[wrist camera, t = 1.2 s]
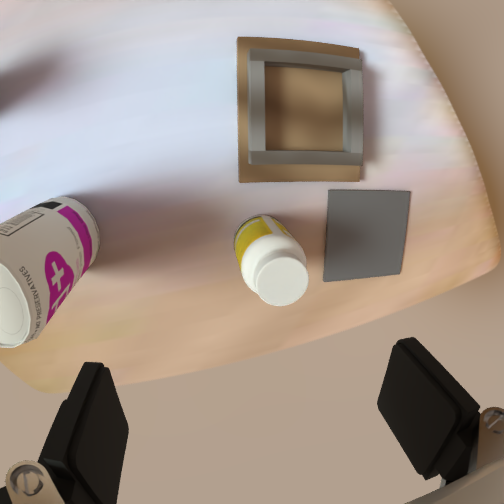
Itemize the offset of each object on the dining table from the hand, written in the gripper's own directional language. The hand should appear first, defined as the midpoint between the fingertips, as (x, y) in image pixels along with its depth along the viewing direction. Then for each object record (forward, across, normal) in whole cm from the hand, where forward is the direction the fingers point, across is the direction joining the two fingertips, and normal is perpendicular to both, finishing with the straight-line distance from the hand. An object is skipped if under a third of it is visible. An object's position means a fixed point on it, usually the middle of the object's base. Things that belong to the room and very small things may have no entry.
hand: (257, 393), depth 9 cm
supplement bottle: (+23, -4, +2) cm, 24 cm away
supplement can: (+23, +16, 0) cm, 28 cm away
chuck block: (+23, -8, -11) cm, 27 cm away
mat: (+23, -16, +2) cm, 28 cm away
